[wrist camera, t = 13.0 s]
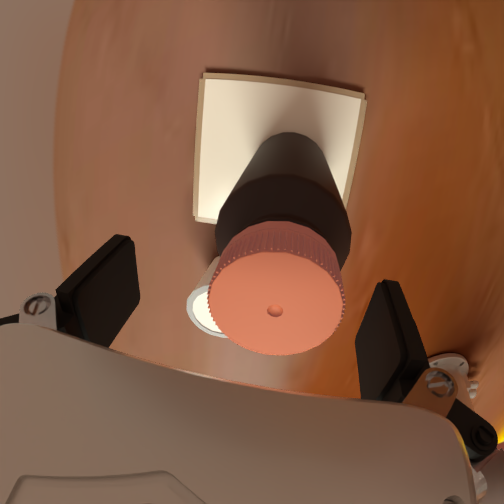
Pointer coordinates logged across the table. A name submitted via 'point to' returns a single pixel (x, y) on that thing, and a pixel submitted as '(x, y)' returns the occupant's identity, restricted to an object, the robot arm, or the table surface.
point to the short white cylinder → (203, 303)
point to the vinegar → (281, 251)
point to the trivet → (268, 130)
